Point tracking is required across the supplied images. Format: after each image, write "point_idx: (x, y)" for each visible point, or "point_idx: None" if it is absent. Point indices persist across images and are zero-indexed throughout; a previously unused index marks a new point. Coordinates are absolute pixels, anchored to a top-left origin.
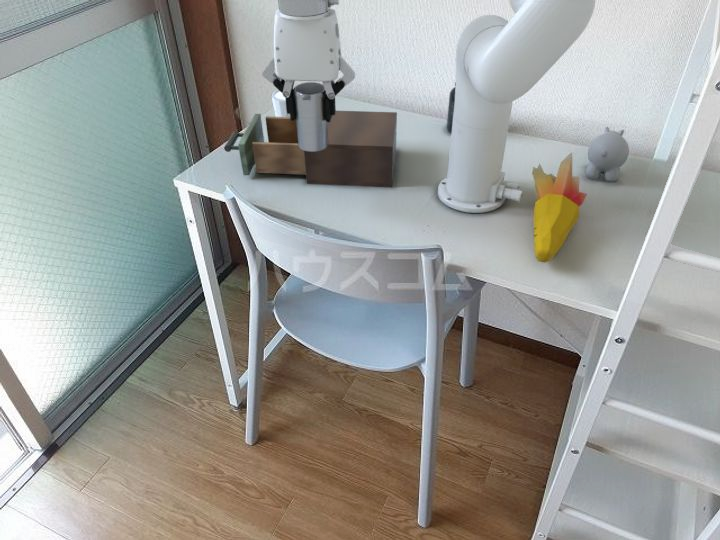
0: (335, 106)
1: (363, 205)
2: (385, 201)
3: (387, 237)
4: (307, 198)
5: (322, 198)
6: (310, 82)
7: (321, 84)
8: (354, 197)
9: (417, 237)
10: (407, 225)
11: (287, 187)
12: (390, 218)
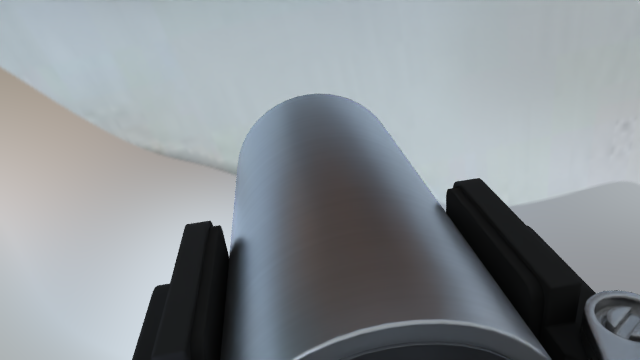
0: (544, 242)
1: (444, 65)
2: (513, 26)
3: (516, 197)
4: (252, 64)
5: (302, 53)
6: (367, 346)
7: (517, 353)
8: (409, 23)
9: (591, 179)
10: (571, 136)
11: (150, 6)
12: (526, 115)
